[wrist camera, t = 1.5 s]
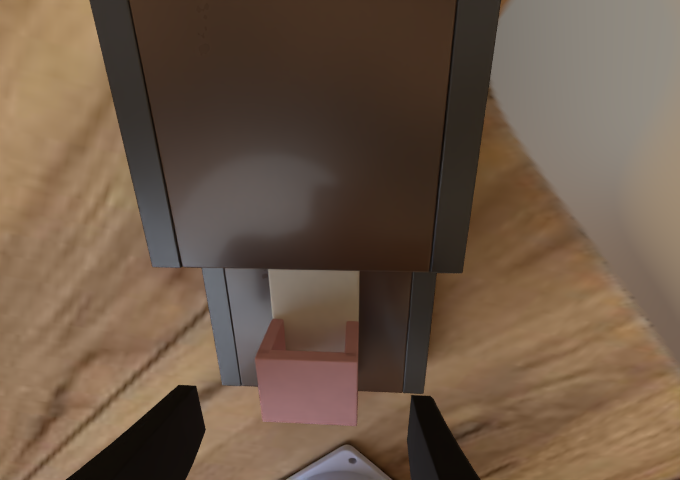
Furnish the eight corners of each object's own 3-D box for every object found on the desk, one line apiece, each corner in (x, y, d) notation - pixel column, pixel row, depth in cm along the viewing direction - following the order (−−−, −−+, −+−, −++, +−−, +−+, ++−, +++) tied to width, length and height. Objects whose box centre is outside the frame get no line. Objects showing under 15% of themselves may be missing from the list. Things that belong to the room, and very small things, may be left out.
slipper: (273, 257, 14) (246, 300, 10) (359, 259, 13) (359, 303, 10) (283, 371, 16) (263, 435, 13) (357, 373, 15) (357, 440, 12)
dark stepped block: (417, 364, 18) (437, 454, 13) (236, 358, 18) (193, 441, 13) (450, 16, 12) (509, -50, 7) (185, 23, 12) (80, -34, 8)
